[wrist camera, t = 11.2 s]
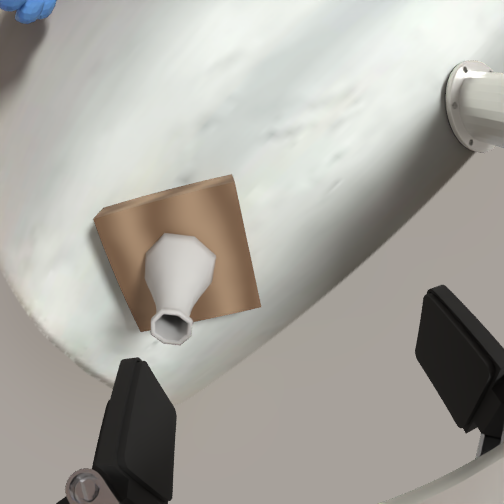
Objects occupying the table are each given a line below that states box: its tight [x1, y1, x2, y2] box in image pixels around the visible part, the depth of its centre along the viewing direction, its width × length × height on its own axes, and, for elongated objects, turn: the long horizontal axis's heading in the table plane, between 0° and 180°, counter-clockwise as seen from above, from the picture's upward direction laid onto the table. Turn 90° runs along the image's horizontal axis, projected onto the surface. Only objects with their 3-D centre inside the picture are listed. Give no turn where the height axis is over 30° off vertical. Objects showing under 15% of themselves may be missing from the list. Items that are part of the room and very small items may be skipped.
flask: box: [145, 233, 216, 345], centre depth 27 cm, size 7×7×10 cm
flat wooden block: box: [93, 174, 261, 332], centre depth 33 cm, size 14×14×4 cm
